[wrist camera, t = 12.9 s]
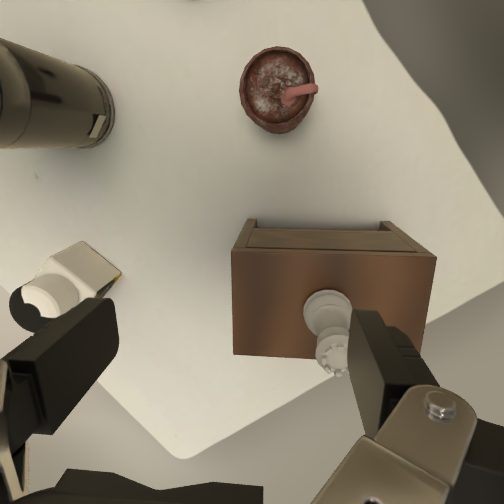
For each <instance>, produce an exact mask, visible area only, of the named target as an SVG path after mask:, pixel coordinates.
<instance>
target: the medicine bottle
mask: <svg viewBox="0 0 504 504" xmlns="http://www.w3.org/2000/svg"><path fill="white" fill-rule="evenodd" d="M120 275H121V272H120V271H119V270H117V269H116V268H115V267H114V266H112V265H111V264H110V263H109V262H107V261H106V260H105V259H104V258H102V257H101V256H100V255H99V254H97V253H96V252H95V251H94V250H92V249H91V248H90V247H89V246H87V245H86V244H85V243H84V242H79V243H77V244H75V245H73V246H71V247H69V248H67V249H64V250H62V251H60V252H58V253H56V254H54V255H52V256H50V257H49V258H48V259H47V260H46V262H45V263H44V265H43V266H42V268H41V269H40V270H39V272H38V273H37V275H36V276H35V278H34V279H33V280H32V281H30V282H28V283H27V284H25V285H23V286H21V287H19V288H17V289H16V290H15V291H14V292H13V293H12V295H11V297H10V301H9V308H10V312H11V315H12V317H13V319H14V320H15V321H16V322H17V323H18V324H19V325H20V326H21V327H22V328H24V329H26V330H27V331H30V332H33V333H36V332H37V331H38V330H40V329H43V327H44V326H45V325H46V324H48V323H49V322H50V321H52V320H53V319H54V318H56V317H58V316H60V315H62V314H65V313H67V312H69V311H70V310H71V309H73V308H74V307H75V306H77V305H78V304H79V303H80V302H82V301H83V300H84V299H86V298H88V297H93V298H103V296H104V295H105V294H106V293H107V291H108V290H109V289H110V288H111V286H112V285H113V284H114V283H115V281H116V280H117V279H118V278H119V277H120Z"/></svg>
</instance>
